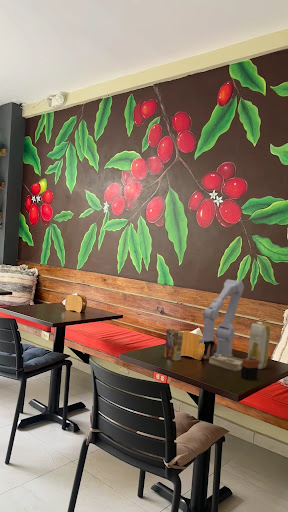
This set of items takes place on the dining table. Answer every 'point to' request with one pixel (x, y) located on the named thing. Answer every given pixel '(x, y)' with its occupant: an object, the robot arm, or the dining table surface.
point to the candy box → (173, 344)
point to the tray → (226, 362)
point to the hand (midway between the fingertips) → (206, 354)
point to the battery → (249, 368)
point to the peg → (207, 353)
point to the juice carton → (259, 343)
